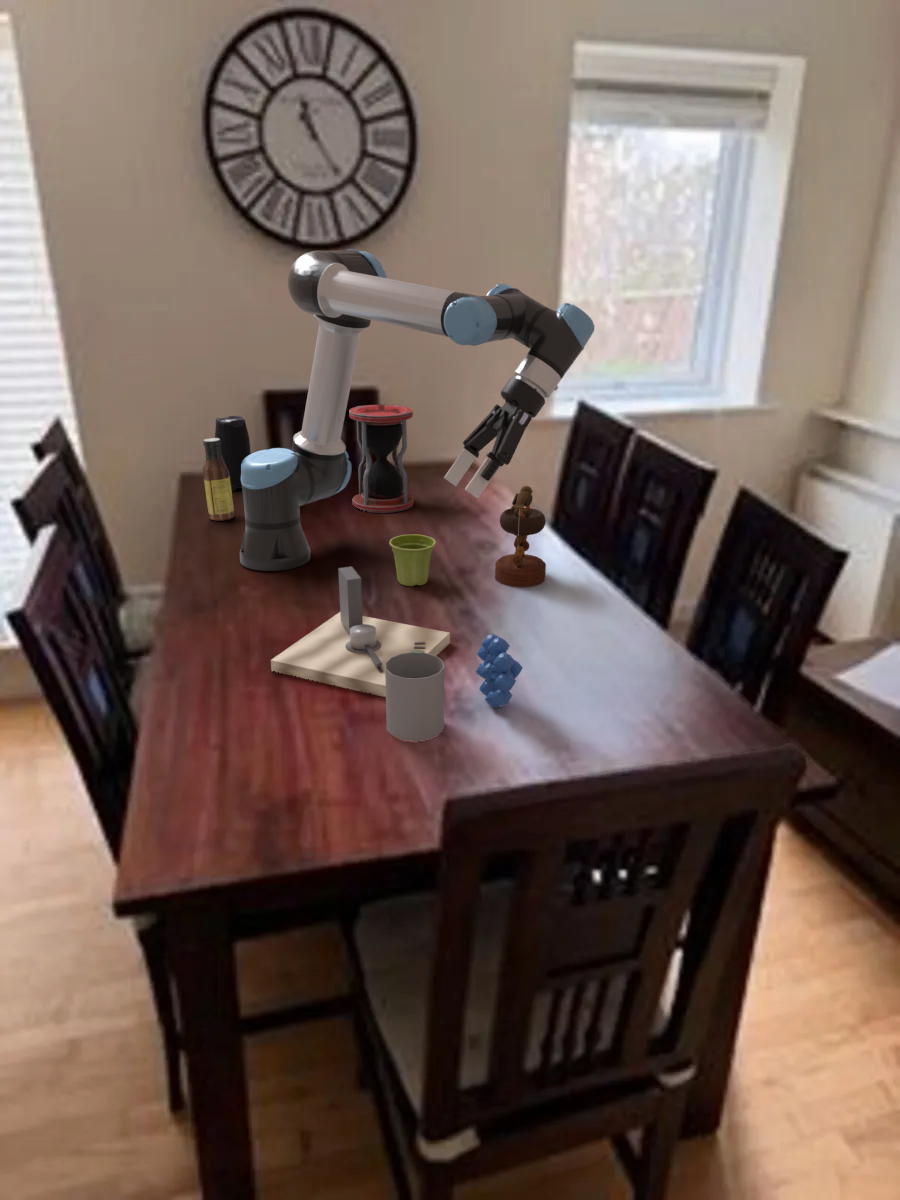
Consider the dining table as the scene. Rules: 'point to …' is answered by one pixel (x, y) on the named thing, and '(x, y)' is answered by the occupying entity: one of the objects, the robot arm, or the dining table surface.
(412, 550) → the plant pot
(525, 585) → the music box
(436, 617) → the dining table surface
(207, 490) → the sauce bottle
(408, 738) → the cup
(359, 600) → the lever dial gauge
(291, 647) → the dial plate
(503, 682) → the grapes
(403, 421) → the hourglass
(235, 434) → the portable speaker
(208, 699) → the dining table surface
